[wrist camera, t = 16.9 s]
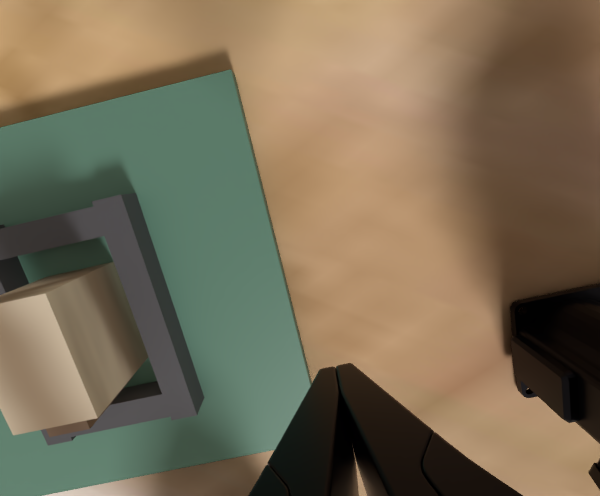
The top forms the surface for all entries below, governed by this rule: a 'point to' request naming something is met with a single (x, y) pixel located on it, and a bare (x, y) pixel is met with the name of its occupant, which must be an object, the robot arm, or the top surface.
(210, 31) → the top surface
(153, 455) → the socket board
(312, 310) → the top surface
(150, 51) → the top surface
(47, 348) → the plug
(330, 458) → the robot arm
